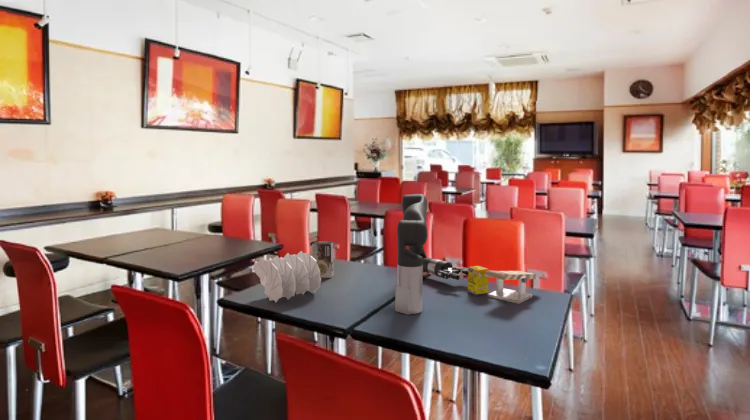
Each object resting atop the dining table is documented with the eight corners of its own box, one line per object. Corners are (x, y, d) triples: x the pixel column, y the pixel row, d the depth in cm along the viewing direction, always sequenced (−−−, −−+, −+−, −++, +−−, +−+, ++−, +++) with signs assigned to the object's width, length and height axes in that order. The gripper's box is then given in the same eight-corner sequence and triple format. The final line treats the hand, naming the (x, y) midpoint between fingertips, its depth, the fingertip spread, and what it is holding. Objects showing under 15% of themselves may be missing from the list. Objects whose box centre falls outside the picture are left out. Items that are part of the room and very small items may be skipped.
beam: (503, 280, 174) (504, 274, 174) (484, 276, 179) (485, 270, 179) (535, 278, 194) (535, 273, 194) (517, 275, 200) (518, 270, 200)
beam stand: (518, 303, 179) (519, 281, 178) (488, 296, 188) (489, 275, 187) (532, 297, 188) (533, 275, 187) (502, 290, 197) (503, 269, 196)
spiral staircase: (320, 302, 193) (269, 313, 175) (297, 277, 203) (246, 285, 185) (334, 266, 187) (282, 274, 168) (309, 241, 197) (258, 247, 179)
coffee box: (334, 274, 222) (334, 241, 220) (331, 278, 215) (331, 243, 213) (315, 274, 223) (315, 240, 221) (312, 277, 216) (311, 243, 214)
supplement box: (467, 292, 194) (468, 266, 193) (479, 290, 196) (479, 265, 195) (476, 296, 188) (476, 270, 187) (488, 294, 191) (488, 268, 190)
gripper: (428, 262, 206) (454, 269, 192) (451, 258, 214) (478, 265, 201) (427, 279, 206) (454, 287, 193) (451, 274, 215) (477, 282, 201)
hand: (466, 276), depth 197 cm, fingers open, 8 cm apart
